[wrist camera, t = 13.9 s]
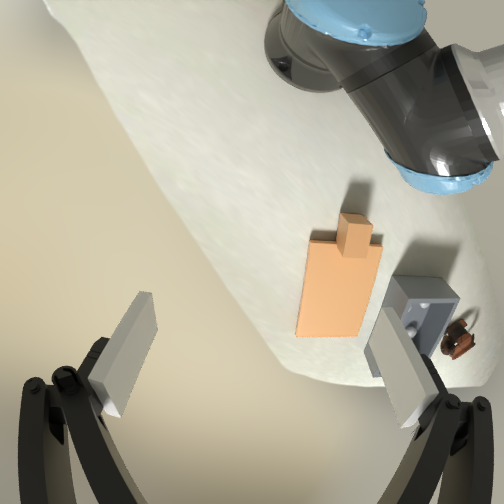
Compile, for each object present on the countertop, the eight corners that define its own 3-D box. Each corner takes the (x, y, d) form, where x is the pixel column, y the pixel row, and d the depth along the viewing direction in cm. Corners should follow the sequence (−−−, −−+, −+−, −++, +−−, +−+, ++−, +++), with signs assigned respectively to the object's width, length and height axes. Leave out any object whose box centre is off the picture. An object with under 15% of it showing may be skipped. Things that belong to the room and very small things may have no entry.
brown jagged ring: (470, 312, 53) (484, 338, 48) (452, 328, 61) (463, 352, 56) (442, 329, 51) (456, 358, 46) (423, 344, 59) (435, 371, 54)
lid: (312, 209, 44) (318, 221, 39) (384, 215, 44) (398, 227, 39) (294, 330, 55) (297, 350, 50) (355, 330, 55) (362, 349, 49)
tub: (391, 275, 48) (408, 298, 41) (441, 277, 48) (460, 298, 41) (363, 351, 57) (372, 377, 50) (409, 348, 57) (421, 371, 50)
